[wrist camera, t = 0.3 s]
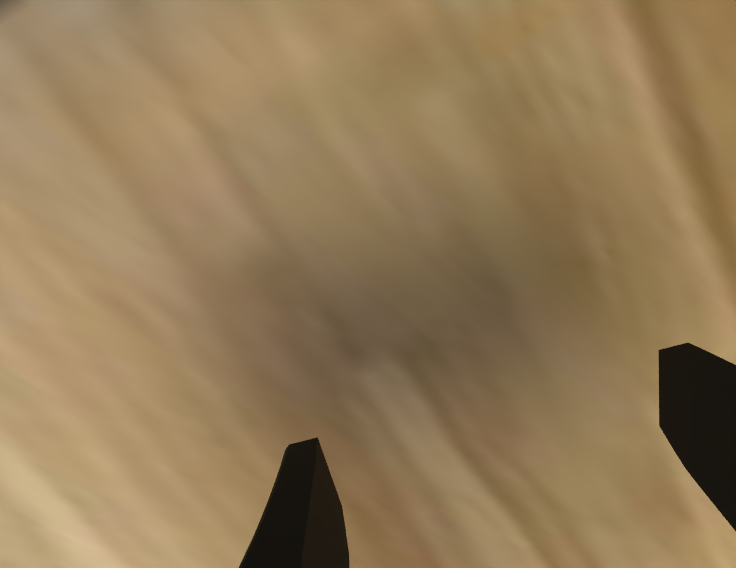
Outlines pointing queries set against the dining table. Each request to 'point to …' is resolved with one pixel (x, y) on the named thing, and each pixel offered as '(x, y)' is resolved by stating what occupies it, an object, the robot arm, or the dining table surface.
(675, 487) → the dining table surface
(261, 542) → the robot arm
